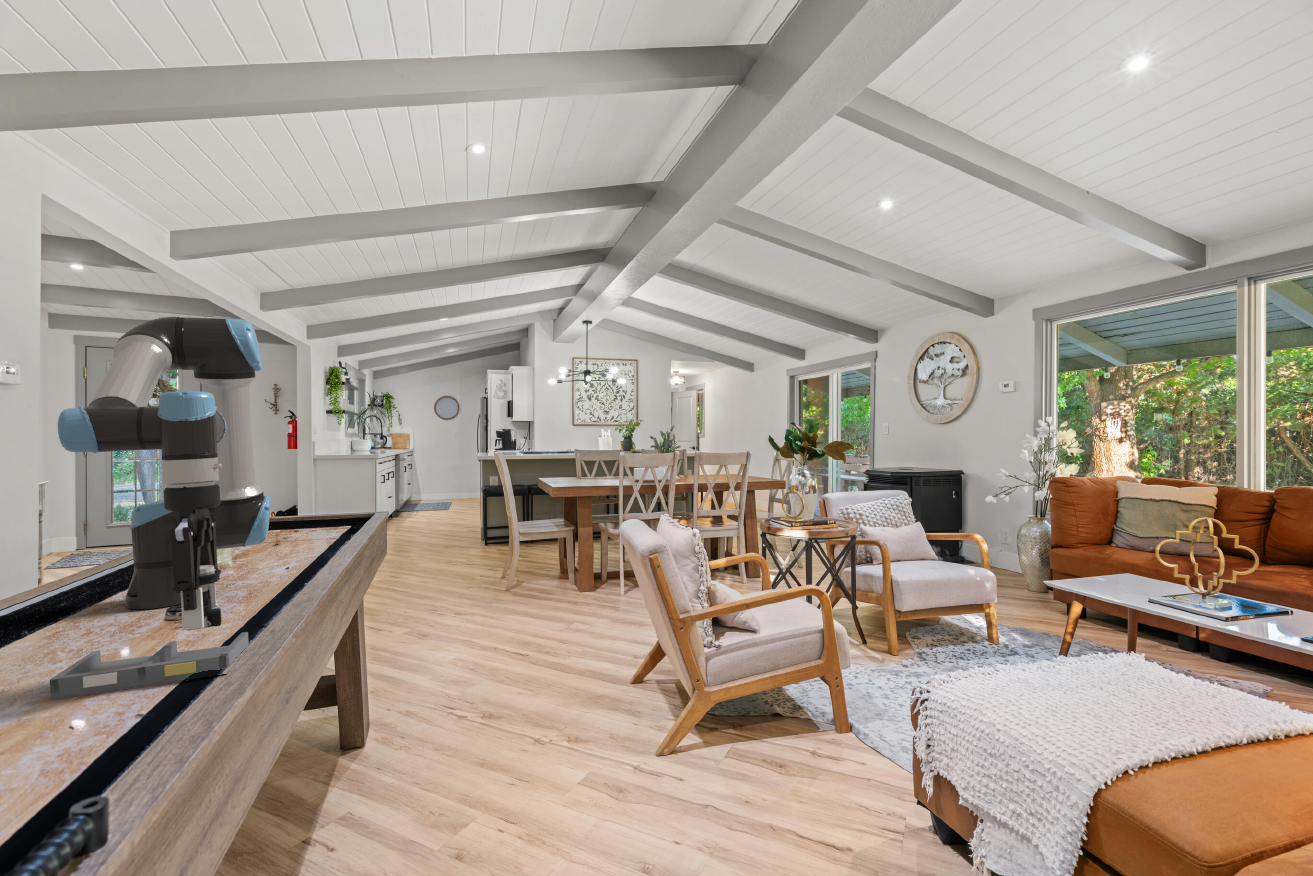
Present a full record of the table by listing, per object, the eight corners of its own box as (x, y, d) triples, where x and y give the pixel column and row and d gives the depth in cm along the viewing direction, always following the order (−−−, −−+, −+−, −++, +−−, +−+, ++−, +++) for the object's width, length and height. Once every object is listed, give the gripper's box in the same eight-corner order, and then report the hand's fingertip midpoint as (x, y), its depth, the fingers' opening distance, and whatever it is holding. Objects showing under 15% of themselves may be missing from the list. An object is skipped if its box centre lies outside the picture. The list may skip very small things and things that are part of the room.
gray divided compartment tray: (93, 669, 102) (92, 651, 102) (248, 648, 109) (247, 631, 109) (49, 700, 90) (48, 680, 90) (226, 675, 97) (225, 656, 97)
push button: (172, 636, 99) (168, 575, 99) (176, 627, 103) (172, 568, 103) (223, 627, 103) (219, 568, 102) (224, 619, 107) (221, 562, 107)
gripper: (199, 488, 95) (207, 637, 96) (235, 479, 112) (241, 606, 113) (139, 491, 93) (148, 644, 93) (185, 481, 110) (192, 611, 110)
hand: (199, 623), depth 103 cm, fingers closed on push button, 5 cm apart
